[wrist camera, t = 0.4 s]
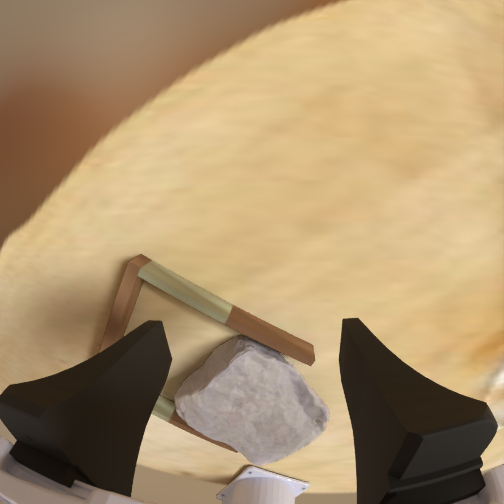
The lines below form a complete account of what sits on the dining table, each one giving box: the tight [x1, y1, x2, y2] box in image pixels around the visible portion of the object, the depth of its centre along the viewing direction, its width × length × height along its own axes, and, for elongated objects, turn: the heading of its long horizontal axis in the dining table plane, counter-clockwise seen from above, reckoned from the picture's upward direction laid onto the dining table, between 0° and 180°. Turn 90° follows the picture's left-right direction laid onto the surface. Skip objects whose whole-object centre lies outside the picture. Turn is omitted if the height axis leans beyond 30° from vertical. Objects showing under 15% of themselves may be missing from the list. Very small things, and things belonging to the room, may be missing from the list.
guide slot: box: [99, 254, 315, 453], centre depth 24 cm, size 13×15×2 cm
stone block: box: [174, 336, 330, 465], centre depth 24 cm, size 12×5×10 cm
